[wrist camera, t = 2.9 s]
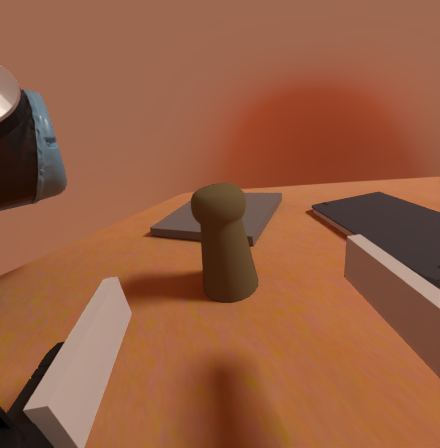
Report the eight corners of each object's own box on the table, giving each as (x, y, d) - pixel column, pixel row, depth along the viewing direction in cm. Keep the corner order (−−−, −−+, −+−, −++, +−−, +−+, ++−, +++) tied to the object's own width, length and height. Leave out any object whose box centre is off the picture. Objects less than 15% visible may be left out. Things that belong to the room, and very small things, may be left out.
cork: (193, 283, 27) (171, 190, 23) (234, 261, 30) (222, 174, 26) (225, 312, 22) (205, 202, 18) (270, 282, 25) (262, 181, 21)
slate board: (152, 235, 41) (150, 227, 40) (203, 199, 55) (202, 192, 54) (253, 246, 33) (252, 236, 32) (281, 200, 47) (281, 192, 46)
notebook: (549, 265, 23) (377, 200, 42) (556, 251, 22) (378, 191, 41) (428, 295, 21) (309, 213, 41) (432, 281, 21) (309, 205, 40)
